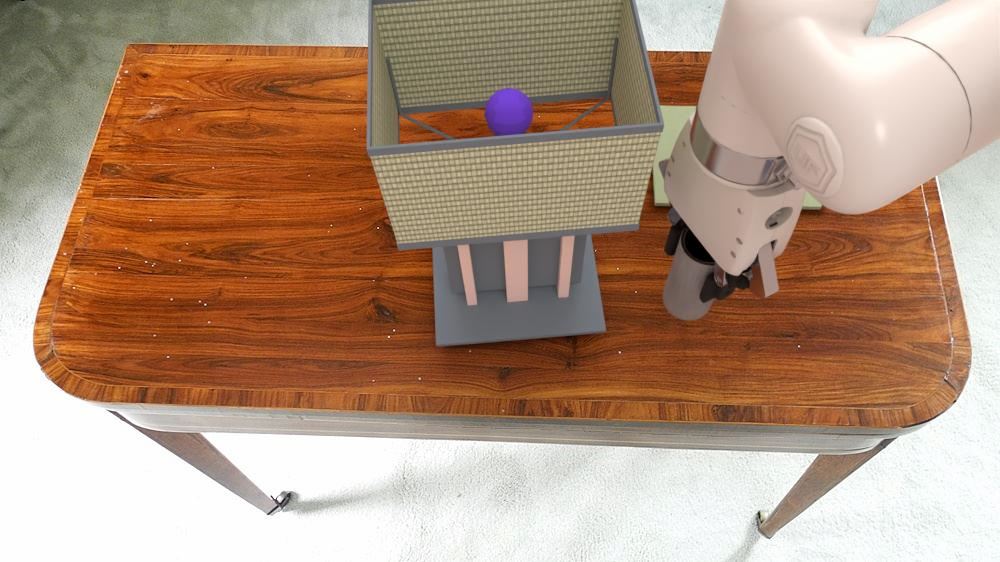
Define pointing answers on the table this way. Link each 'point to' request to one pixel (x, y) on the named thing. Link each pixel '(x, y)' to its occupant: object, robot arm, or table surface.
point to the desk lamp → (511, 154)
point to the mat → (672, 128)
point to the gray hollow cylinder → (688, 278)
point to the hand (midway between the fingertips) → (698, 269)
